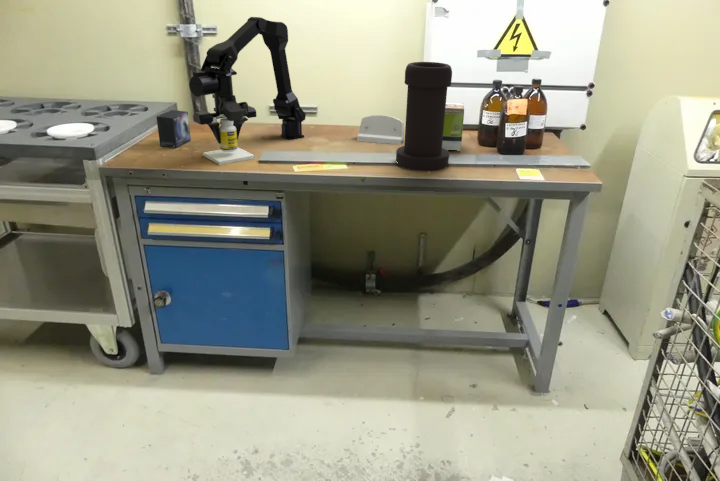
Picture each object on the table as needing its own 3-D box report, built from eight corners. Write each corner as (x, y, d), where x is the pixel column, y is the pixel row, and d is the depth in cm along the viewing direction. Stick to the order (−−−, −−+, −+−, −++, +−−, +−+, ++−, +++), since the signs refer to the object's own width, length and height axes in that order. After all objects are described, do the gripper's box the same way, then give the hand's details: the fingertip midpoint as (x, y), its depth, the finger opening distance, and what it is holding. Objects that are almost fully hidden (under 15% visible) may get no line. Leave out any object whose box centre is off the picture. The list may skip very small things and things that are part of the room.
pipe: (448, 157, 175) (457, 62, 162) (447, 173, 161) (457, 69, 148) (398, 153, 178) (403, 59, 165) (393, 169, 163) (398, 67, 150)
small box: (177, 149, 178) (173, 117, 173) (159, 147, 179) (154, 116, 174) (192, 140, 187) (188, 110, 182) (175, 139, 188) (171, 109, 184)
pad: (237, 149, 178) (237, 146, 178) (254, 158, 170) (254, 155, 169) (203, 155, 171) (203, 152, 171) (219, 164, 163) (219, 161, 163)
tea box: (460, 144, 190) (464, 102, 184) (460, 152, 181) (465, 108, 175) (417, 142, 192) (420, 100, 185) (416, 149, 183) (419, 106, 176)
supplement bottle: (229, 153, 166) (226, 122, 162) (216, 150, 169) (213, 119, 164) (241, 149, 170) (238, 118, 166) (229, 146, 173) (226, 116, 168)
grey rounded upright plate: (355, 140, 191) (358, 112, 190) (358, 142, 196) (361, 114, 195) (401, 144, 188) (404, 116, 187) (403, 146, 192) (406, 117, 191)
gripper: (205, 99, 151) (210, 152, 158) (263, 92, 161) (266, 143, 168) (189, 93, 159) (195, 144, 165) (246, 87, 169) (249, 135, 176)
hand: (227, 141), depth 169 cm, fingers closed on supplement bottle, 5 cm apart
